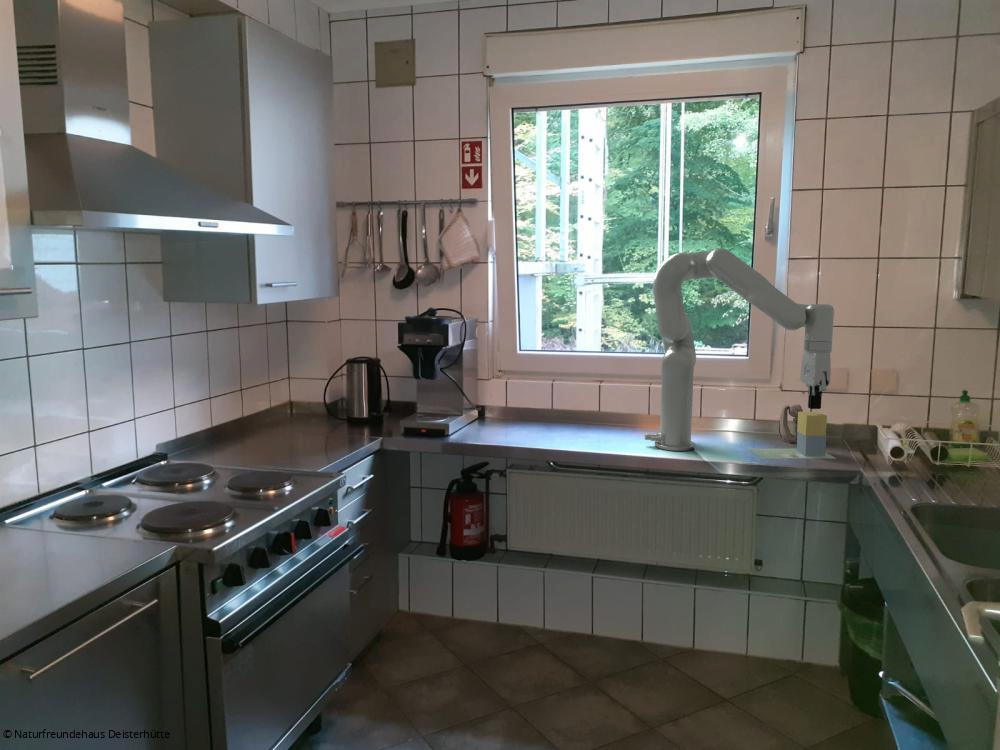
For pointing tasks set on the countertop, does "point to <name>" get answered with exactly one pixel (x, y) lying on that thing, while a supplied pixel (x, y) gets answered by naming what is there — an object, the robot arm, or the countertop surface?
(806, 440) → the base brick
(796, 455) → the board
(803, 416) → the brick
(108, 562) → the countertop surface
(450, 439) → the countertop surface
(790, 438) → the toy
